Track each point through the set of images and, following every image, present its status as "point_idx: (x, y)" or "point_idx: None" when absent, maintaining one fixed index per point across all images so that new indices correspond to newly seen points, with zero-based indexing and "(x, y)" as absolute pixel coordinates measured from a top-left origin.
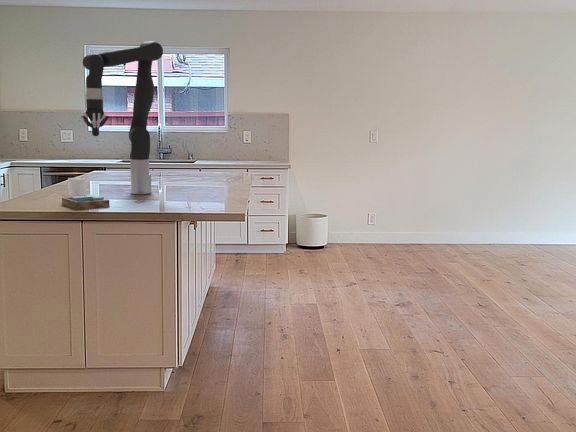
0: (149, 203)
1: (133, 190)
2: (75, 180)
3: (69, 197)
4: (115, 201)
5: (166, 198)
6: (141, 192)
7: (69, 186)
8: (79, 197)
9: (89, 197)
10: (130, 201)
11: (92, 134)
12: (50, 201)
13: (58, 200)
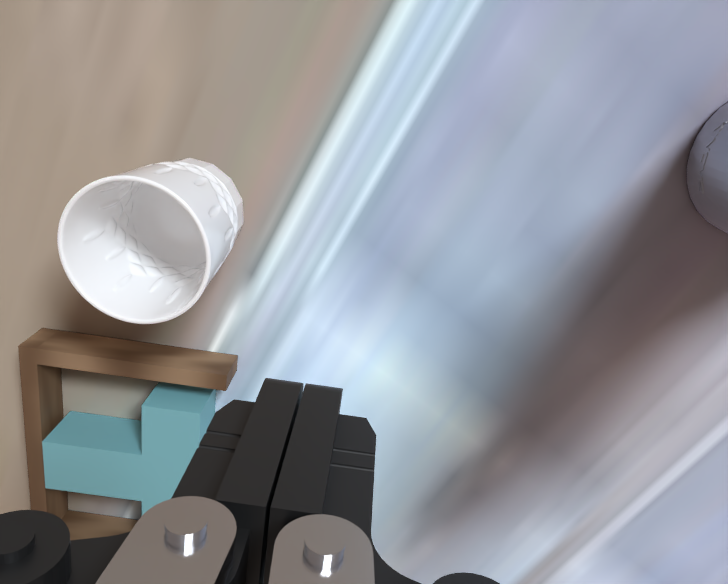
0: (458, 567)
1: (698, 180)
2: (101, 305)
3: (62, 364)
4: (358, 404)
5: (674, 482)
6: (722, 230)
7: (93, 232)
8: (75, 486)
9: (134, 497)
10: (426, 455)
11: (227, 410)
12: (17, 154)
13: (78, 141)
